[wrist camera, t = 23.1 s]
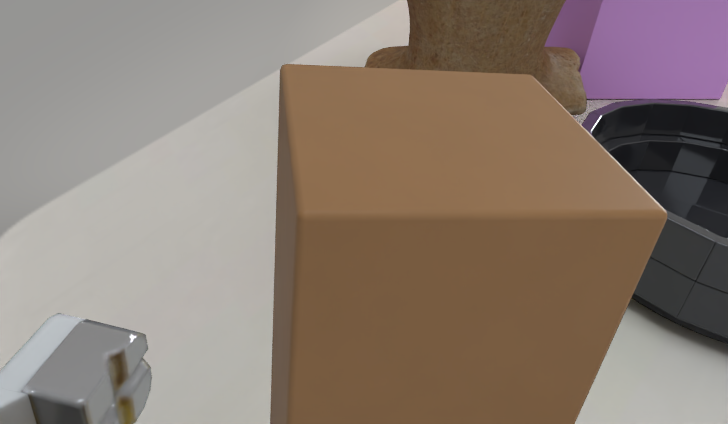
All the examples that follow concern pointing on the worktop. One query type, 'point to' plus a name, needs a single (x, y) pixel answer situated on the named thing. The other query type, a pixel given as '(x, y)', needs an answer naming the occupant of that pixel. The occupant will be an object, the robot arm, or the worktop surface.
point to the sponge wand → (444, 249)
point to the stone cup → (489, 44)
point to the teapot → (647, 47)
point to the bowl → (678, 202)
